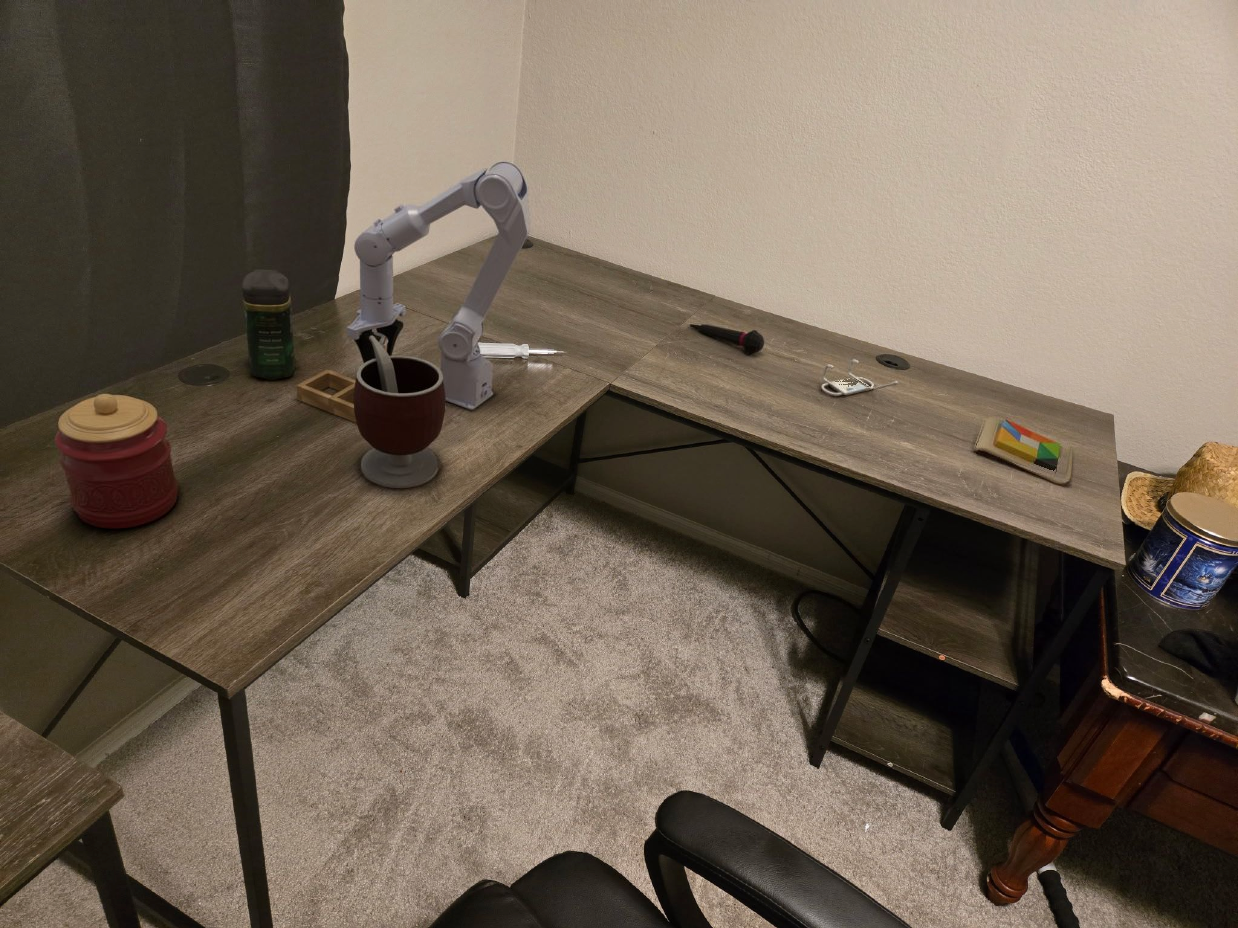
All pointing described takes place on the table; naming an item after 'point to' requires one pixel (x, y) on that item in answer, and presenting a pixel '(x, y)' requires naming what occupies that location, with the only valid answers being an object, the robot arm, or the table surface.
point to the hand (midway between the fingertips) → (377, 360)
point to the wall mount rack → (851, 389)
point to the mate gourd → (399, 417)
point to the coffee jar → (268, 324)
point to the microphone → (734, 337)
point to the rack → (333, 404)
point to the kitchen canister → (116, 461)
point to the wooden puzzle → (1021, 446)
